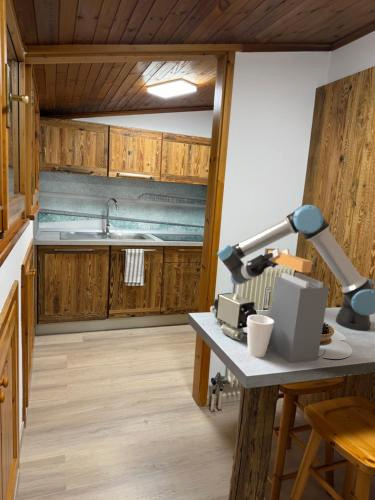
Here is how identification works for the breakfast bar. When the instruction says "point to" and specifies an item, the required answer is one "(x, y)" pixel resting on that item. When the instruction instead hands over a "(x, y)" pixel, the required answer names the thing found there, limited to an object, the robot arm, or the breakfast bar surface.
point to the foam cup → (258, 334)
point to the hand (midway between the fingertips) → (283, 251)
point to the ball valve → (233, 313)
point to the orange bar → (291, 261)
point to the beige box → (215, 314)
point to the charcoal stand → (297, 317)
